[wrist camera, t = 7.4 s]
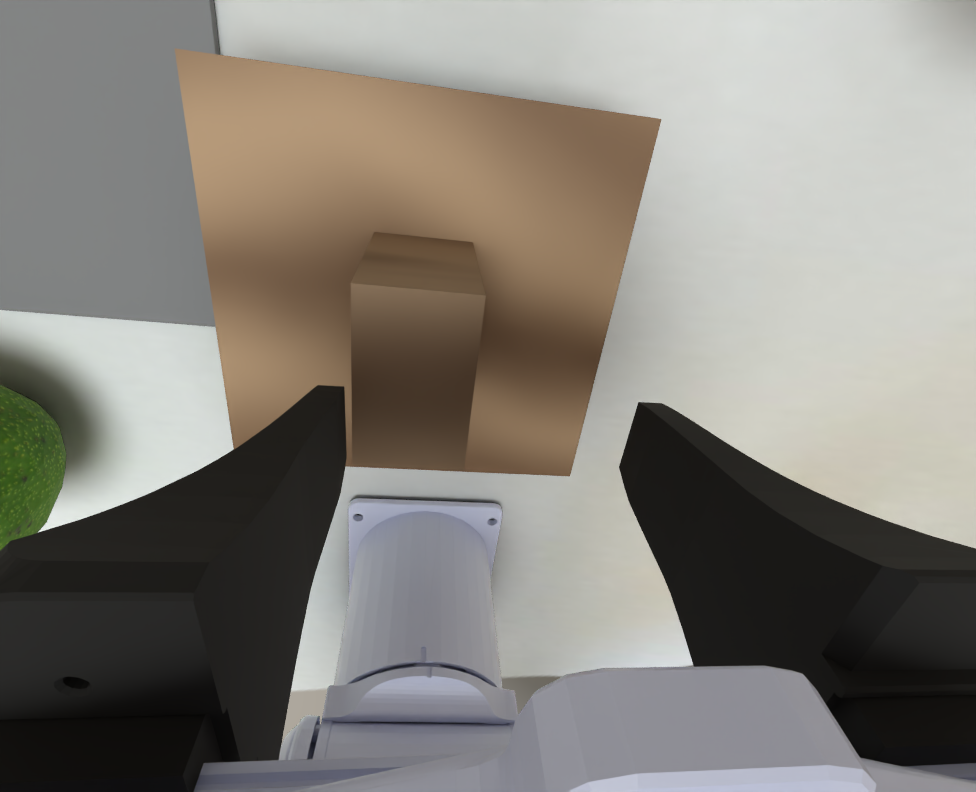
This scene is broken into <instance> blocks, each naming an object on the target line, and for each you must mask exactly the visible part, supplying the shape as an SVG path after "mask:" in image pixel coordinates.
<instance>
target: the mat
mask: <svg viewBox="0 0 976 792" xmlns="http://www.w3.org/2000/svg"><path fill="white" fill-rule="evenodd" d="M175 48H176V49H183V50H189V51H196V52H203V53H210V54H217V55H220V51H219V42H218V33H217V24H216V15H215V6H214V0H0V310H9V311H22V312H35V313H47V314H60V315H73V316H85V317H98V318H111V319H123V320H136V321H149V322H161V323H174V324H187V325H199V326H212V327H216V325H215V318H214V312H213V305H212V298H211V291H210V285H209V278H208V271H207V264H206V258H205V251H204V244H203V237H202V231H201V224H200V217H199V210H198V204H197V197H196V190H195V183H194V176H193V170H192V163H191V156H190V149H189V143H188V136H187V129H186V122H185V116H184V109H183V102H182V95H181V89H180V82H179V75H178V68H177V62H176V55H175Z"/></svg>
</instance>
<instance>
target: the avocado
mask: <svg viewBox="0 0 976 792" xmlns="http://www.w3.org/2000/svg"><path fill="white" fill-rule="evenodd" d="M65 466H66V451H65V447H64V444H63V440H62V436H61V432H60V428H59V426H58V424H57V422H56V421H55V420H54V419H53V418H52V417H51V416H50V415H49V414H48V413H47V412H46V411H45V410H44V409H43V408H42V407H41V406H40V405H39V404H38V403H37V402H35V401H33V400H31V399H29V398H27V397H25V396H23V395H21V394H19V393H17V392H15V391H12V390H10V389H8V388H6V387H4V386H2V385H0V550H1V549H2V548H3V547H5V546H6V545H7V544H8V543H9V542H10V541H11V540H15V539H18V538H22V537H26V536H29V535H32V534H35V533H37V532H38V531H39V530H40V529H41V528H42V527H43V526H44V524H45V523H46V522H47V520H48V518H49V515H50V513H51V511H52V508H53V506H54V504H55V502H56V499H57V497H58V495H59V492H60V490H61V488H62V484H63V479H64V473H65Z"/></svg>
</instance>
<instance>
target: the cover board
mask: <svg viewBox="0 0 976 792" xmlns="http://www.w3.org/2000/svg"><path fill="white" fill-rule="evenodd" d="M175 55H176V62H177V68H178V75H179V82H180V89H181V95H182V102H183V109H184V116H185V122H186V129H187V136H188V143H189V149H190V156H191V163H192V170H193V176H194V183H195V190H196V197H197V204H198V210H199V217H200V224H201V231H202V237H203V244H204V251H205V258H206V264H207V271H208V278H209V285H210V291H211V298H212V305H213V312H214V318H215V325H216V332H217V339H218V345H219V352H220V359H221V366H222V372H223V379H224V386H225V393H226V399H227V406H228V413H229V420H230V426H231V433H232V440H233V447H234V449H236V448H237V447H239V446H240V445H242V444H243V443H244V442H246V441H247V440H249V439H250V438H251V437H253V436H254V435H256V434H257V433H258V432H260V431H261V430H263V429H264V428H266V427H267V426H268V425H270V424H271V423H272V422H273V421H275V420H276V419H277V418H278V417H280V416H281V415H282V414H283V413H285V412H286V411H287V410H288V409H289V408H291V407H292V406H293V405H294V404H295V403H296V402H298V401H299V400H300V399H301V398H302V397H304V396H305V395H306V394H307V393H308V392H310V391H311V390H312V389H313V388H314V387H316V386H317V385H326V386H344V390H345V420H346V450H347V459H346V465H345V466H350V467H372V468H395V469H418V470H440V471H463V472H486V473H508V474H531V475H554V476H570V474H571V470H572V466H573V462H574V458H575V454H576V450H577V446H578V442H579V439H580V435H581V431H582V427H583V423H584V419H585V415H586V411H587V407H588V403H589V400H590V396H591V392H592V388H593V384H594V380H595V376H596V372H597V368H598V364H599V361H600V357H601V353H602V349H603V345H604V341H605V337H606V333H607V329H608V325H609V321H610V318H611V314H612V310H613V306H614V302H615V298H616V294H617V290H618V286H619V282H620V279H621V275H622V271H623V267H624V263H625V259H626V255H627V251H628V247H629V243H630V240H631V236H632V232H633V228H634V224H635V220H636V216H637V212H638V208H639V204H640V201H641V197H642V193H643V189H644V185H645V181H646V177H647V173H648V169H649V165H650V162H651V158H652V154H653V150H654V146H655V142H656V138H657V134H658V130H659V126H660V123H661V119H656V118H650V117H643V116H636V115H629V114H622V113H615V112H608V111H601V110H595V109H588V108H581V107H574V106H567V105H560V104H553V103H547V102H540V101H533V100H526V99H519V98H512V97H505V96H498V95H492V94H485V93H478V92H471V91H464V90H457V89H450V88H444V87H437V86H430V85H423V84H416V83H409V82H402V81H395V80H389V79H382V78H375V77H368V76H361V75H354V74H347V73H340V72H334V71H327V70H320V69H313V68H306V67H299V66H292V65H286V64H279V63H272V62H265V61H258V60H251V59H244V58H237V57H231V56H224V55H217V54H210V53H203V52H196V51H189V50H183V49H176V48H175Z"/></svg>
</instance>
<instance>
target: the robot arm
mask: <svg viewBox="0 0 976 792" xmlns="http://www.w3.org/2000/svg"><path fill="white" fill-rule="evenodd" d="M346 459H347V450H346V420H345V390H344V386H326V385H317V386H316V387H314V388H313V389H312V390H311V391H310V392H308V393H307V394H306V395H305V396H304V397H302V398H301V399H300V400H299V401H298V402H296V403H295V404H294V405H293V406H292V407H291V408H289V409H288V410H287V411H286V412H285V413H283V414H282V415H281V416H280V417H278V418H277V419H276V420H275V421H273V422H272V423H271V424H270V425H268V426H267V427H266V428H264V429H263V430H261V431H260V432H258V433H257V434H256V435H254V436H253V437H251V438H250V439H249V440H247V441H246V442H244V443H243V444H242V445H240V446H239V447H237V448H236V449H234V450H232V451H231V452H229V453H228V454H226V455H224V456H223V457H221V458H219V459H218V460H216V461H214V462H212V463H210V464H209V465H207V466H205V467H203V468H202V469H200V470H198V471H196V472H194V473H192V474H190V475H188V476H186V477H184V478H182V479H179V480H177V481H175V482H173V483H171V484H169V485H167V486H165V487H163V488H160V489H158V490H156V491H154V492H152V493H150V494H147V495H145V496H142V497H140V498H137V499H135V500H133V501H130V502H128V503H125V504H123V505H120V506H117V507H114V508H112V509H109V510H106V511H104V512H101V513H98V514H95V515H93V516H90V517H87V518H84V519H81V520H78V521H75V522H71V523H68V524H65V525H62V526H58V527H55V528H52V529H49V530H45V531H42V532H39V533H35V534H32V535H29V536H26V537H22V538H18V539H15V540H11V541H10V542H9V543H8V544H7V545H6V546H5V547H3V548H2V549H1V550H0V792H976V549H975V548H971V547H968V546H964V545H961V544H957V543H954V542H950V541H947V540H943V539H940V538H936V537H933V536H930V535H927V534H923V533H920V532H918V531H915V530H912V529H909V528H906V527H903V526H900V525H897V524H894V523H891V522H888V521H885V520H883V519H880V518H877V517H875V516H872V515H869V514H867V513H864V512H862V511H859V510H857V509H854V508H852V507H849V506H847V505H845V504H842V503H840V502H837V501H835V500H832V499H830V498H828V497H826V496H823V495H821V494H819V493H817V492H815V491H812V490H810V489H808V488H806V487H804V486H802V485H800V484H798V483H796V482H794V481H792V480H790V479H788V478H786V477H784V476H782V475H780V474H779V473H777V472H775V471H773V470H771V469H769V468H768V467H766V466H764V465H762V464H761V463H759V462H757V461H755V460H754V459H752V458H750V457H748V456H747V455H745V454H743V453H742V452H740V451H739V450H737V449H735V448H734V447H732V446H730V445H729V444H727V443H726V442H724V441H723V440H721V439H719V438H718V437H716V436H715V435H713V434H712V433H710V432H708V431H707V430H705V429H704V428H702V427H701V426H699V425H698V424H696V423H695V422H693V421H691V420H690V419H688V418H687V417H685V416H683V415H682V414H680V413H679V412H677V411H675V410H673V409H672V408H670V407H668V406H666V405H664V404H662V403H644V402H638V406H637V409H636V412H635V416H634V419H633V423H632V426H631V429H630V433H629V436H628V439H627V443H626V446H625V449H624V453H623V456H622V459H621V463H620V466H619V468H620V472H621V476H622V480H623V483H624V487H625V490H626V493H627V497H628V500H629V502H630V505H631V507H632V509H633V512H634V514H635V516H636V518H637V520H638V523H639V525H640V527H641V529H642V531H643V533H644V535H645V538H646V540H647V542H648V544H649V546H650V548H651V550H652V553H653V555H654V557H655V559H656V561H657V563H658V565H659V568H660V570H661V572H662V574H663V576H664V579H665V581H666V583H667V586H668V588H669V591H670V593H671V596H672V599H673V602H674V605H675V608H676V611H677V614H678V617H679V620H680V623H681V626H682V629H683V632H684V635H685V639H686V642H687V645H688V648H689V652H690V655H691V658H692V662H693V665H694V667H649V668H602V669H596V670H590V671H584V672H579V673H573V674H567V675H565V676H563V677H561V678H559V679H557V680H555V681H553V682H552V683H550V684H548V685H546V686H544V687H542V688H540V689H538V690H537V691H536V692H535V693H534V694H533V695H532V696H531V698H530V699H529V701H528V702H527V703H526V705H525V706H524V708H523V709H522V710H521V712H520V713H519V715H518V711H517V703H516V695H515V691H514V690H508V689H502V680H501V671H500V662H499V653H498V644H497V635H496V626H495V617H494V608H493V599H492V590H491V581H490V580H491V574H492V569H493V563H494V558H495V553H496V547H497V542H498V536H499V531H500V526H501V520H502V515H503V514H502V508H501V506H500V505H498V504H495V503H473V502H446V501H419V500H393V499H366V498H357V499H353V500H352V501H351V502H350V504H349V508H348V532H349V602H348V607H347V613H346V619H345V624H344V630H343V636H342V641H341V647H340V653H339V658H338V664H337V670H336V676H335V681H334V685H331V686H329V687H328V689H327V694H326V700H325V705H324V711H323V716H322V722H321V725H320V716H312V715H306V716H304V717H303V718H302V719H301V720H300V723H299V724H298V725H296V726H295V727H294V728H293V729H292V730H291V731H290V732H289V733H288V734H287V735H286V737H285V738H284V741H283V743H282V736H283V730H284V725H285V720H286V714H287V708H288V703H289V697H290V692H291V686H292V680H293V675H294V670H295V665H296V659H297V654H298V649H299V644H300V639H301V633H302V628H303V624H304V619H305V614H306V609H307V604H308V599H309V594H310V590H311V586H312V582H313V579H314V575H315V572H316V568H317V565H318V562H319V559H320V556H321V553H322V550H323V547H324V543H325V540H326V537H327V534H328V531H329V528H330V525H331V522H332V519H333V515H334V512H335V509H336V506H337V503H338V499H339V496H340V493H341V487H342V482H343V477H344V471H345V465H346ZM355 514H361V515H362V516H356V515H355ZM491 518H494V520H489V519H491ZM281 743H282V746H281Z"/></svg>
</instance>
